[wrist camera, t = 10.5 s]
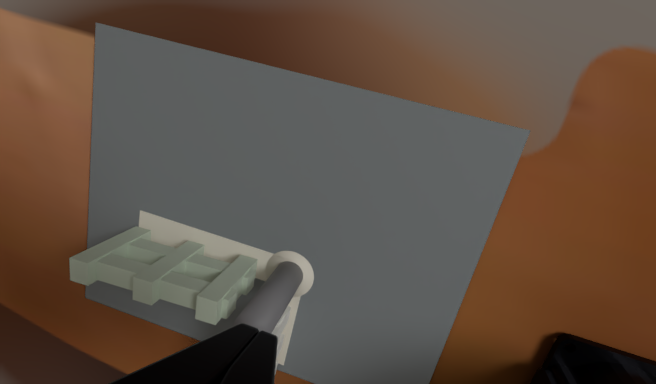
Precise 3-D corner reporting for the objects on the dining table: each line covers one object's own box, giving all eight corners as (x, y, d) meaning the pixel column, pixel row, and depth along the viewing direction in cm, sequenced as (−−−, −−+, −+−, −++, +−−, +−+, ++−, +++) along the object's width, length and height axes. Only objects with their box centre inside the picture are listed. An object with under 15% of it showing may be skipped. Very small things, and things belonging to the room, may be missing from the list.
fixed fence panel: (280, 255, 20) (236, 308, 15) (307, 264, 20) (271, 321, 15) (257, 359, 23) (212, 436, 18) (281, 368, 22) (243, 449, 17)
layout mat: (529, 130, 16) (530, 130, 16) (414, 418, 21) (414, 421, 21) (98, 23, 19) (95, 22, 19) (87, 296, 24) (84, 298, 24)
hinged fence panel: (263, 260, 20) (223, 303, 16) (260, 280, 20) (221, 327, 16) (134, 225, 21) (67, 257, 17) (133, 244, 22) (68, 279, 18)
